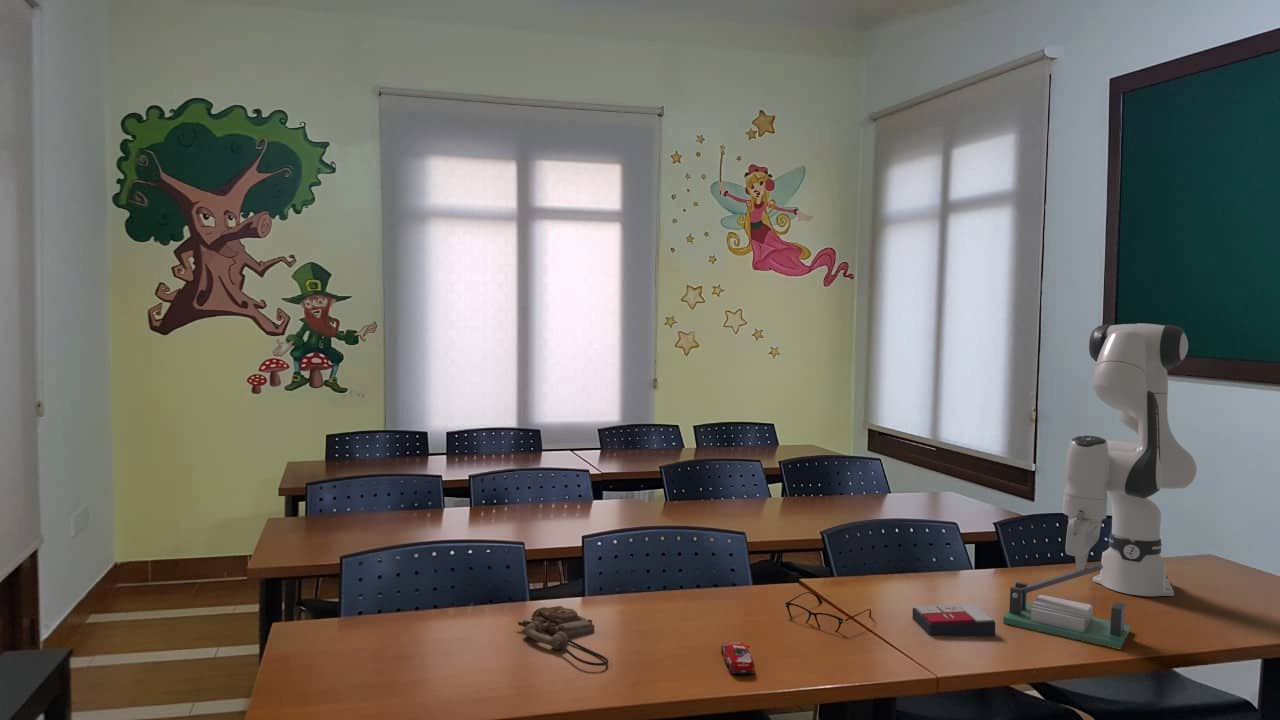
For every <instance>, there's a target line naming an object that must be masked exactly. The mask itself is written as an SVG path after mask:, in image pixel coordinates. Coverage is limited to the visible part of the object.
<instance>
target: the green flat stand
mask: <svg viewBox="0 0 1280 720" xmlns="http://www.w3.org/2000/svg"><path fill="white" fill-rule="evenodd" d="M1026 586H1028V583H1024V582H1020V581H1016V582H1015V586H1011V587H1009V588H1010V591H1009V592H1010V593H1009V611H1008V612H1007V613H1006V614H1005V615H1004V616H1003V618H1002V619H1003V621H1002V623H1003V624H1004V623H1005V624H1006V625H1008V624H1010V625H1009V626H1013V625H1015V626H1014V627H1017V626H1018V628H1021V627H1024V628H1023V629H1026V628H1028V629H1027V630H1030V629H1032V630H1031V631H1035V630H1037V631H1036V632H1039V631H1041V632H1040V633H1043V632H1046V633H1045V634H1048V633H1050V634H1049V635H1052V634H1054V635H1053V636H1057V635H1059V636H1058V637H1061V636H1063V637H1062V638H1065V637H1069V638H1068V639H1070V638H1074V639H1078V640H1084V641H1087V642H1092V643H1096V644H1101V645H1105V646H1110V647H1115V648H1120V649H1122V648H1123V646H1124V644H1125V642H1126V640H1127V637H1129V634H1130V631H1131V625H1130V624H1126V623H1125V614H1126V613H1125V611H1126V603H1123V602H1119V601H1118V602H1117V601H1115V602H1114V603H1113V604H1112V606H1111V612H1110V620H1107V619H1102V618H1097V617H1093V613H1094V612H1093V610H1094V607H1093V606H1092V604H1089V603H1084V602H1080V601H1074V600H1068V599H1066V598H1065V599H1063V598H1060V597H1059V598H1058V597H1054V596H1049V595H1045V594H1039V595H1038V596H1037V597H1036V598H1035V600H1034V601H1032V604H1030V603H1027V601H1028V593H1025V594H1022V591H1023V589H1021V588H1022V587H1026ZM1074 639H1073V640H1074ZM1125 639H1126V640H1125ZM1078 640H1077V641H1078ZM1124 641H1125V642H1124ZM1087 642H1086V643H1087ZM1092 643H1091V644H1092ZM1123 643H1124V644H1123ZM1096 644H1095V645H1096ZM1122 645H1123V646H1122ZM1105 646H1104V647H1105ZM1121 647H1122V648H1121Z"/></svg>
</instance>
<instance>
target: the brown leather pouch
mask: <svg viewBox="0 0 1280 720" xmlns="http://www.w3.org/2000/svg"><path fill="white" fill-rule="evenodd" d="M531 617H532V618H530V620H528V619H527V620H526V619H524V620H522V621H518V623H517V625H518V626H521V627H524V628H523V631H524V633H525V635H526V636H527V638H531V639H533V640H535V641H536V642H539V643H541V644H544V645H548V646H550V647H551V648H553V649H554V650H564V652H566V653H567V654H568V655H570V656H571V657H572V658H573V659H575V660H576V661H578V662H580V663H583V664H586V665H589V666H595V667H596V666H597V667H602V666H606V665H608V664H609V659H608V658H607V657H605V656H604V655H602V654H600V653H597V652H596V651H594V650H591V649H589V648H587V647H585V646H582V645H581V644H579V643H576V642H575V641H573V640H571V639H572V638H574V637H579V636H583V635H586V634H587V635H588V634H590V633H595V624H593V619H591V618H590V619H586V618H585V617H583V616H581V615H579V614H578V612H577V611H576V610H574V609H573V608H567V607H566V608H565V607H563V606H562V605H558V606H551V607H546V606H545V607H544V606H543V607H539V608H537V609H536V610H534V611H533V612H532V615H531ZM542 630H544V631H546V632H548V633H550V634H552V636H551V637H550V636H547V635H544V634H543V633H542V632H543V631H542ZM570 638H571V639H570ZM569 643H570V644H572V645H573V646H575V647H578V648H580V649H581V650H583V651H586V652H588V653H589V654H592V655H594V656H597V658H598V657H599V658H600V659H603V660H604V661H605V662H592V661H588V660H584V659H582V658H580V657H577V656H576V655H575V654H574V653H572V652H571V651H570V650H569V649H568V648H567V647H568V645H569Z"/></svg>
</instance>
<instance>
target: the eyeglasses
mask: <svg viewBox="0 0 1280 720" xmlns="http://www.w3.org/2000/svg"><path fill="white" fill-rule="evenodd" d="M805 594H811V595H813V596H814V597H815V598H816V600H817V602H818V604H823V603H824V602H823V601H822V599H821V598H820V597H819V595H817V594H816V593H814V592H809V591H808V592H803V593H801V594H800V595H798V596H796V597H794V598H792V599H790V600H789V601H787V602H785V603H784V605H785V607H786V608H787V613H788V615H789V617H790V618H791V619H793V616H792V614H791V611H790V606H794V607H798V608H799V609H802V610H804V611H805V612H808V618H807V620H806V621H805V624H807V623H808V622H809V621H810V620H812V616H813V617H814V619H815V622H816V625H817V626H818V628H821V625H820V623H819V621H818V617H817V616H818V615H821V616H828V617H831V618H834V619H837V620H838V626H837V629H836V630H834V632H836V633H837V632H839V630H840V627H841V625H842V624H843V623H846V622H848V621H849V620H852V619H853V618H855V617H858V616H859V615H861V614H863V613H865V612H867V611H869V615H868V617H869V618H871V616H872V610H871V609H870V608H867V609H866V610H863V611H861V612H859V613H857V614H855V615H852V616H850V617H849V618H846V619H843V618H841V617H839V616H836V615H833V614H830V613H825V612H813V611H810V609H807V608H805V607H804V606H802V605H799V604H796V603H792V601H794V600H796V599H797V598H800V597H801V596H803V595H805Z"/></svg>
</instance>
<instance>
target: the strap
mask: <svg viewBox="0 0 1280 720" xmlns="http://www.w3.org/2000/svg"><path fill="white" fill-rule="evenodd" d="M1102 568H1103V566H1102V564H1101V562H1099V563H1096V564H1093V565H1090V566H1086V567H1085V568H1084V570H1080V569H1077V570H1074V571H1070V572H1068V573H1067V572H1066V573H1063V574H1061V575H1058V576H1054V577H1051V578H1048V579H1045V580H1043V581H1039V582H1036V583H1032V584H1029V585H1027V586H1026V587H1022V588H1021V589H1023V591H1022V594H1025V593H1027V594H1028V593H1031V592H1033V591H1038V590H1041V589H1044V588H1047V587H1051V586H1054V585H1057V584H1060V583H1062V582H1066V581H1069V580H1073V579H1076V578H1080V577H1083V576H1086V575H1089V574H1093V573H1096V572H1098V571H1101V569H1102Z"/></svg>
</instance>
